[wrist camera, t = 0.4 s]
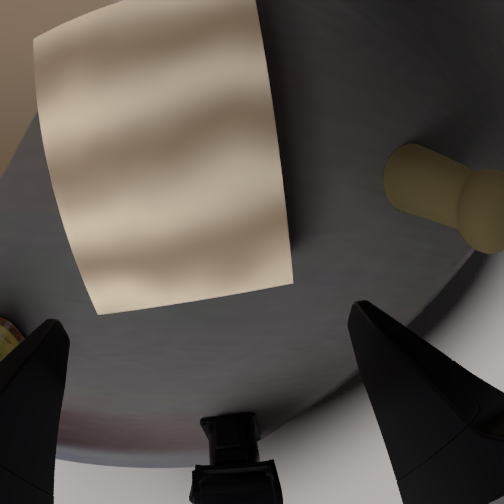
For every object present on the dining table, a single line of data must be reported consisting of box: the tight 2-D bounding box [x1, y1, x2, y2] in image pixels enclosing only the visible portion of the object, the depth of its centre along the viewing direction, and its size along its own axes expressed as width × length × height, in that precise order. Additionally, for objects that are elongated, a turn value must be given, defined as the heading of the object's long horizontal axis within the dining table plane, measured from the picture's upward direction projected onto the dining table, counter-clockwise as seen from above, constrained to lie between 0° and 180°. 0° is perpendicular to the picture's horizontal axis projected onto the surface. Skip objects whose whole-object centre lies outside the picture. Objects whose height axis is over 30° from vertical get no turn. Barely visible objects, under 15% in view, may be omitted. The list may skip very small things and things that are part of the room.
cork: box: [383, 143, 504, 254], centre depth 17 cm, size 6×6×11 cm
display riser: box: [33, 0, 293, 315], centre depth 17 cm, size 20×14×4 cm
